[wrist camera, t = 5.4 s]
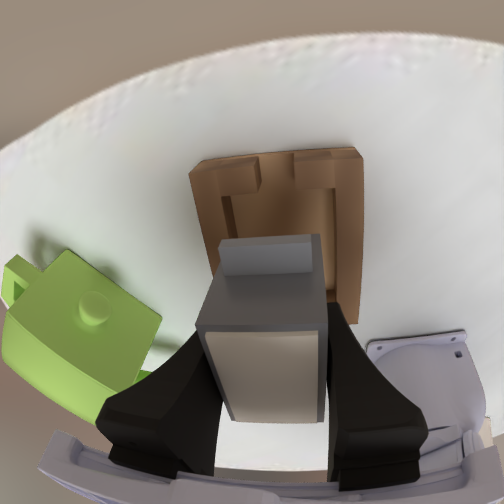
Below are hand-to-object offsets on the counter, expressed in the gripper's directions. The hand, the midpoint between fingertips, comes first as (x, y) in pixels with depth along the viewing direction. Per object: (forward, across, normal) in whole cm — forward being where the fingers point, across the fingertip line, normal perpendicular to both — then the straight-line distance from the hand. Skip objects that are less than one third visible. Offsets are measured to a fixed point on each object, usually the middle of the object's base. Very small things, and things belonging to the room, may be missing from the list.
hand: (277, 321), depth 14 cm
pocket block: (+8, 0, 0) cm, 8 cm away
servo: (+2, 0, 0) cm, 2 cm away
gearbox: (+8, +16, +6) cm, 19 cm away
